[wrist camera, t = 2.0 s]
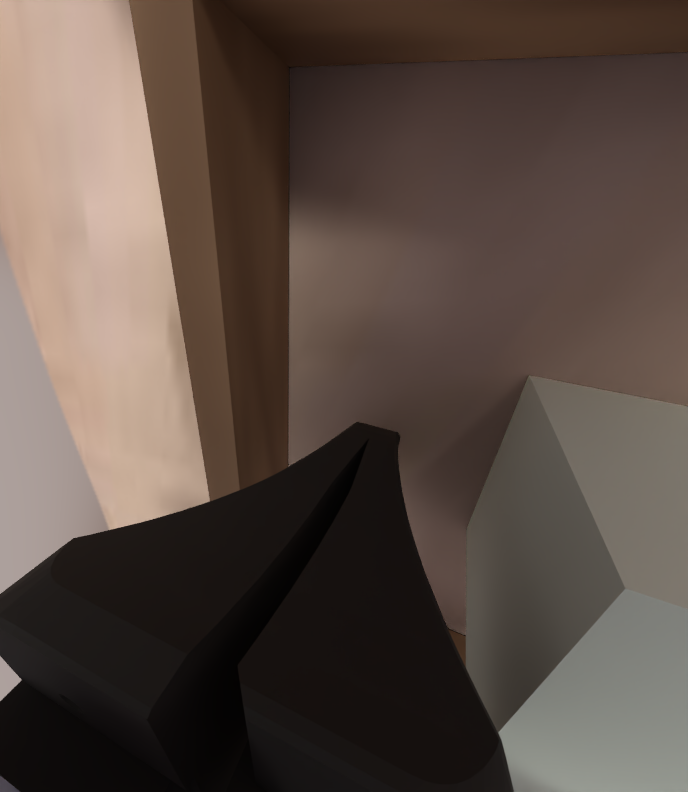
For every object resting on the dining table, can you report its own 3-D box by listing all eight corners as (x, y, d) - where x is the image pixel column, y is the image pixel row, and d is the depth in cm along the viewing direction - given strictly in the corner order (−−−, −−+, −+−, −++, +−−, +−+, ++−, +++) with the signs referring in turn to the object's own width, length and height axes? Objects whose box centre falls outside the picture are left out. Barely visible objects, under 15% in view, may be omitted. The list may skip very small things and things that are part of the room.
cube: (832, 433, 7) (1936, 1023, 2) (669, 593, 10) (896, 991, 5) (528, 373, 8) (625, 588, 3) (466, 527, 11) (465, 769, 6)
